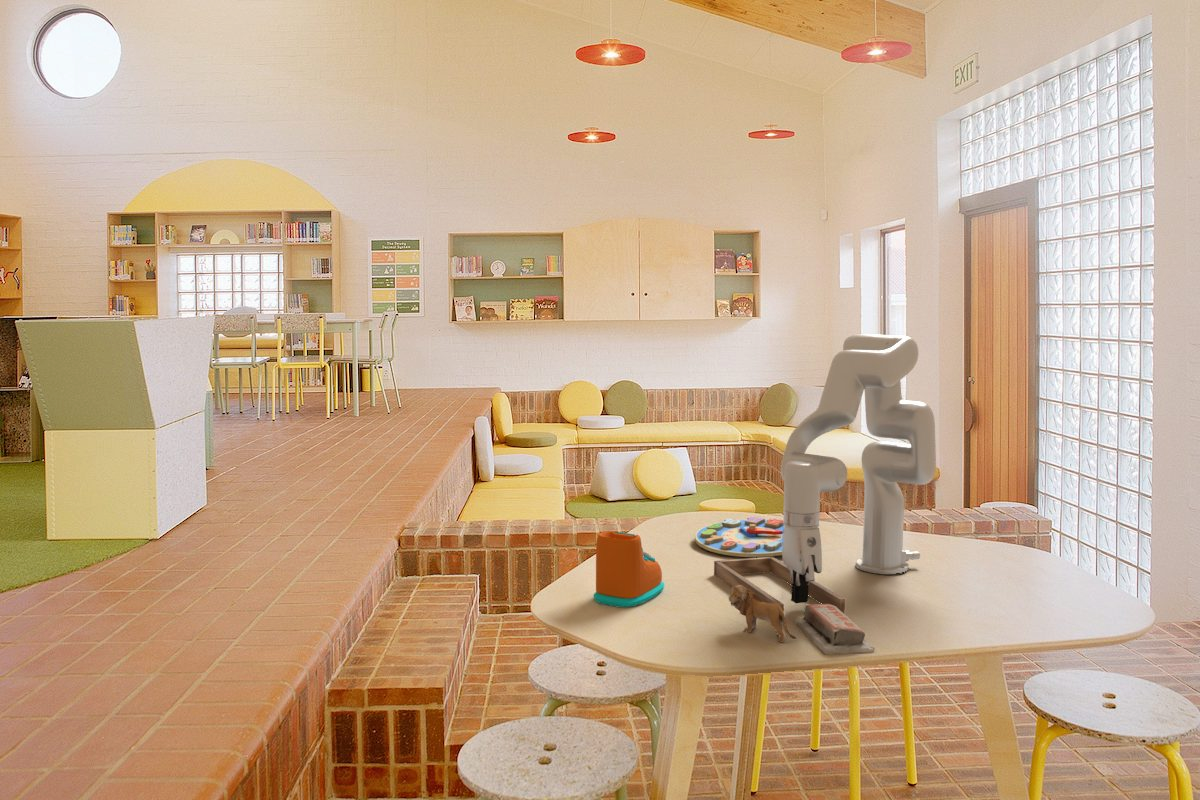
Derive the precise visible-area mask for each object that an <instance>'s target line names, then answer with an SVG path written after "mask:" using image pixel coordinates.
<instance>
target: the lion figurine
mask: <svg viewBox="0 0 1200 800" xmlns="http://www.w3.org/2000/svg"><path fill="white" fill-rule="evenodd" d="M728 601H729V602H730V605H731V607H734V608H735V609H736V610H738V611H739V614H740V615H742V616H745V622H746V624H747V627H746V628H744V630H743V631H744V632H745V633H751V632H752V630H753V629H756V627H757V619H758V620H761V621H769V622H770V624H771V626H772V627H773V629H774V630H775V632H774V635H776V636H779V637H777V639H776V640H777V642H778V643H782V642H784V641H785V634H784V629H785V631H786V634H787V635H788V636H789V638H790V639H792V640H797V637H796V636H795V635H794V634H792V633H791V632H790V631H789V627H788V624H787V619H786V615H785V613H784V612H783V609H782V607H781V606H780V605H778V604H772V603H766V602H763V601H761V600H760V598H759V597H758V595H757V594H755V593H754V592H752V591H751V590H750V589H749V588H747V587H745V586H742V585H736V586H734V587H732V589H731V595H730V596H729V597H728ZM782 625H783V626H784V629H783V626H782Z"/></svg>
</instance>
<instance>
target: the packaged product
mask: <svg viewBox="0 0 1200 800" xmlns="http://www.w3.org/2000/svg"><path fill="white" fill-rule="evenodd" d="M795 623H796V625H797V626H798V628H800V629H801V631H802V632H803V633H804V634H805V635H806V637H808V639H809V640H810V641H811V642H812V643H813V644H814V645H815V646H816V647H817V648H818V649H819V650H820V651H821V652H822V653H823V654H824V655H826V654H827V655H831V654H832V655H836V654H839V655H840V654H856V653H857V654H858V653H874V652H875V647H874V646H872V644H871V643H869V642H868V641H866V640H865V638H866V634H865V632H864V631H863V630H862V629H861V628H860V627H859V626H858V625H857V624H856V623H854V622H853V621H852V619H850V618H849V617H848V616H847V615H846V614H845V615H844V614H843V613H842V612H841V611H840V610H839V609H838V608H837V607H836V606H833V605H831V604H820V603H815V604H806V605H805V607H804V613H803V617H802V618H801V617H796V618H795Z"/></svg>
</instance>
